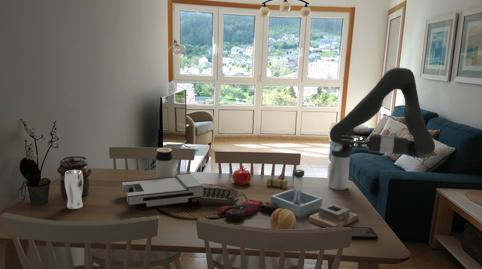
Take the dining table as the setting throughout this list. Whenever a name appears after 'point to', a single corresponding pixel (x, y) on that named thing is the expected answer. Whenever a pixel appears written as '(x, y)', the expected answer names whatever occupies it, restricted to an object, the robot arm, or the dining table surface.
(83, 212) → the dining table surface
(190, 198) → the game console
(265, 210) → the toy motorcycle
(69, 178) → the beer glass
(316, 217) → the peg hole base
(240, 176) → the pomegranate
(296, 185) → the stop pin
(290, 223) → the bread roll
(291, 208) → the tray
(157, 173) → the travel mug
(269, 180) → the gavel
